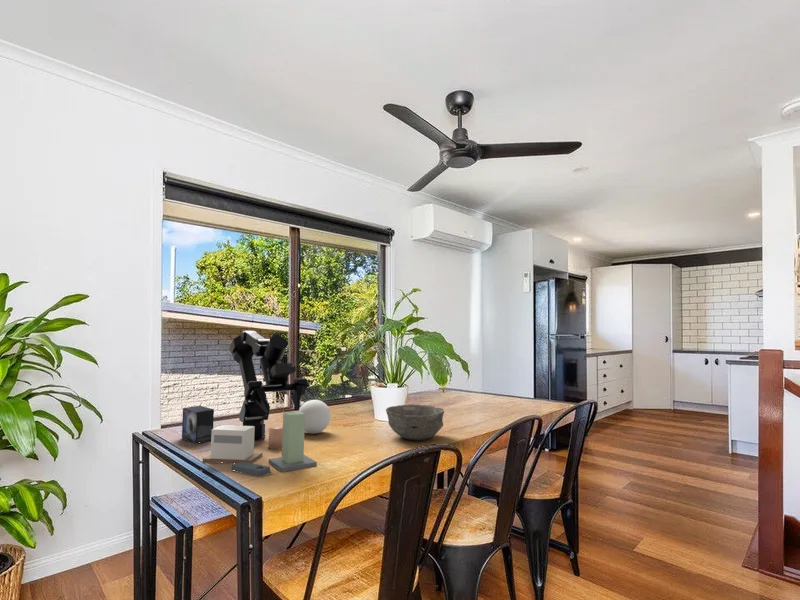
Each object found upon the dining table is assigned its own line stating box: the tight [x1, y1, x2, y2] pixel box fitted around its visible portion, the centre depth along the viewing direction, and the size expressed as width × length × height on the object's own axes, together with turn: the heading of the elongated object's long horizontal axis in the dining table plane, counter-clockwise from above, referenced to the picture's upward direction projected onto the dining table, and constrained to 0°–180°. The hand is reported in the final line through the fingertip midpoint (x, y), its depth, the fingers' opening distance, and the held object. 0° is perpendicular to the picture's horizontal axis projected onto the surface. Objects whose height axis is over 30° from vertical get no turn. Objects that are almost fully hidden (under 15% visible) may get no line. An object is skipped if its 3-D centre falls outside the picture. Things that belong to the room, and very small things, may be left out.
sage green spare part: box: [281, 410, 305, 464], centre depth 123 cm, size 4×4×13 cm
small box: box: [181, 405, 215, 444], centre depth 150 cm, size 11×6×10 cm, turn 50°
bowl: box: [385, 404, 445, 442], centre depth 156 cm, size 21×21×10 cm
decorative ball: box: [299, 399, 332, 435], centre depth 161 cm, size 12×12×12 cm
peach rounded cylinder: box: [268, 425, 283, 450], centre depth 141 cm, size 5×5×6 cm
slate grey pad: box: [268, 454, 318, 473], centre depth 123 cm, size 10×10×1 cm
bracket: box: [230, 461, 271, 478], centre depth 116 cm, size 4×10×2 cm, turn 62°
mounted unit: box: [202, 424, 263, 464], centre depth 127 cm, size 14×8×9 cm, turn 84°
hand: (283, 411), depth 130 cm, fingers open, 9 cm apart
